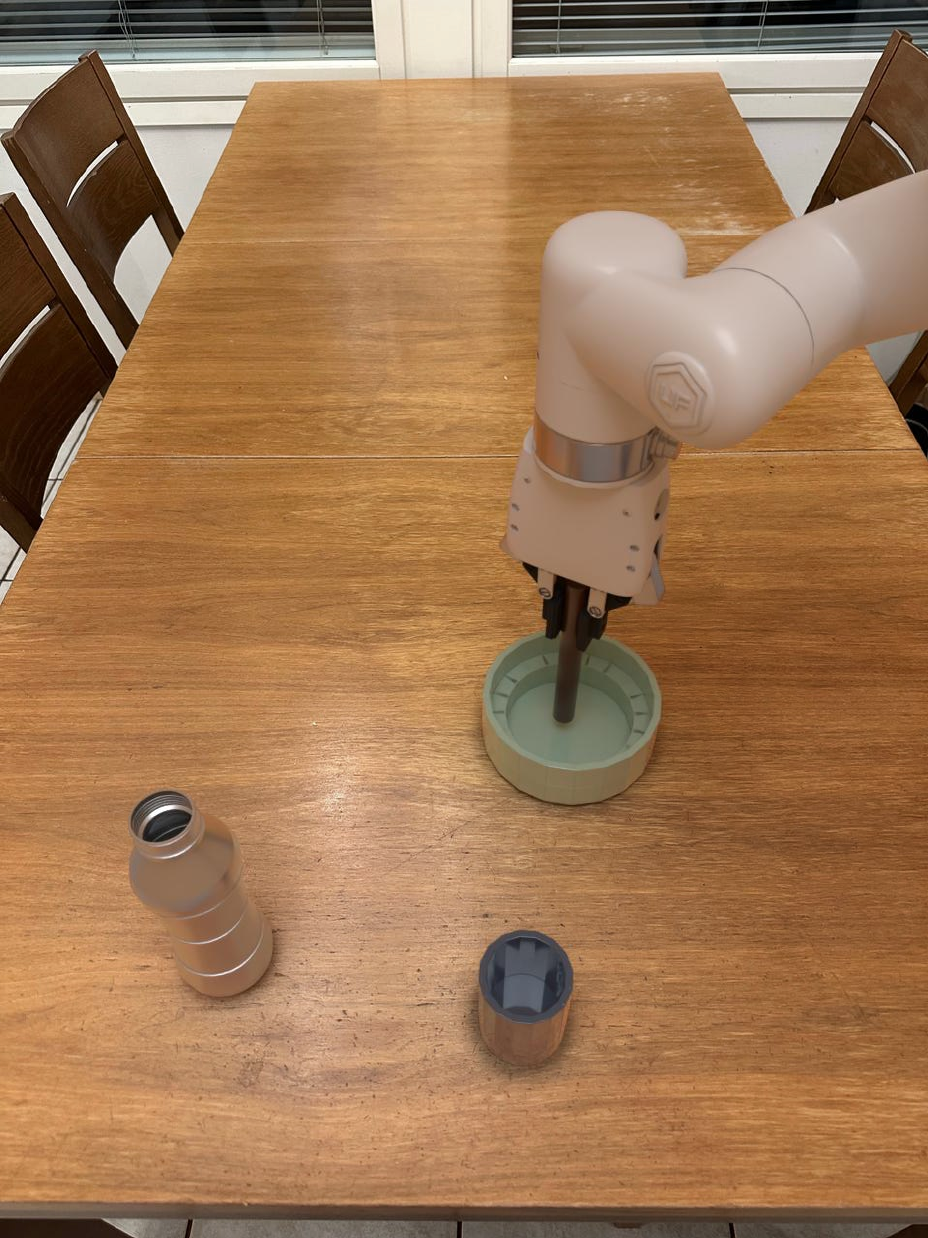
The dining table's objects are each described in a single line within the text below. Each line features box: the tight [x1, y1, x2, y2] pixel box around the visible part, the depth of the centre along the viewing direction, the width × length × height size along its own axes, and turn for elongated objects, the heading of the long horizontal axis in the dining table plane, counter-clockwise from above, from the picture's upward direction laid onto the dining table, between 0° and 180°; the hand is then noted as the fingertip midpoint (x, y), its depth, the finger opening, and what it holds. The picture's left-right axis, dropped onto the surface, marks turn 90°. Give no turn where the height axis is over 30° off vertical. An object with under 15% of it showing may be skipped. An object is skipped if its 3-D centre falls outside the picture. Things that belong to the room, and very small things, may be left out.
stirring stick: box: [553, 578, 590, 723], centre depth 72 cm, size 2×2×16 cm
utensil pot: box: [477, 929, 574, 1067], centre depth 61 cm, size 6×6×8 cm
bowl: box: [481, 629, 663, 806], centre depth 78 cm, size 14×14×6 cm
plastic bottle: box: [127, 788, 274, 998], centre depth 60 cm, size 6×7×20 cm
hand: (572, 631), depth 70 cm, fingers closed on stirring stick, 1 cm apart
